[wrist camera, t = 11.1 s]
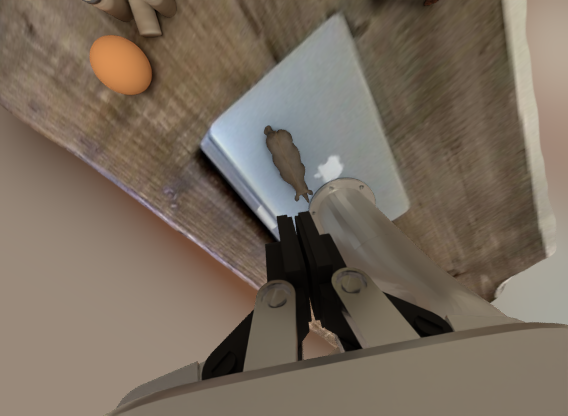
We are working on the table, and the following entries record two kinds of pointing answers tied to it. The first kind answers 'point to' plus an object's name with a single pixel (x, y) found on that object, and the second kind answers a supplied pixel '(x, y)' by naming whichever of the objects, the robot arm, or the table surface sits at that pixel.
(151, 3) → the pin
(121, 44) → the ball
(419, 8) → the table surface
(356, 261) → the robot arm
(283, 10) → the table surface
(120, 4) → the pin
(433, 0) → the rust brown arched piece
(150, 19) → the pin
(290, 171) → the rhino figurine
